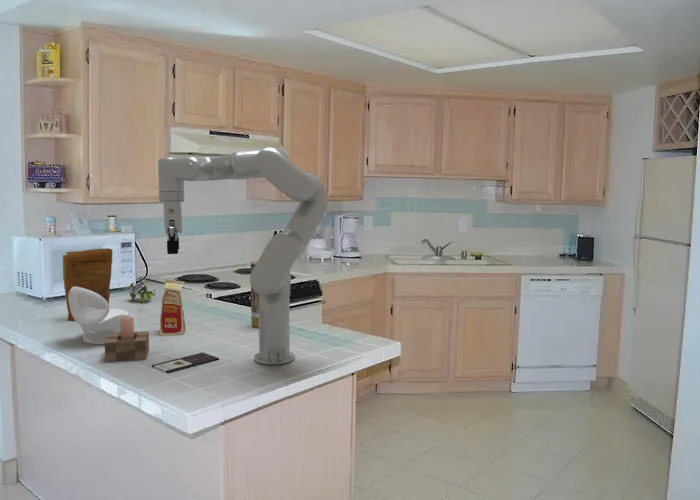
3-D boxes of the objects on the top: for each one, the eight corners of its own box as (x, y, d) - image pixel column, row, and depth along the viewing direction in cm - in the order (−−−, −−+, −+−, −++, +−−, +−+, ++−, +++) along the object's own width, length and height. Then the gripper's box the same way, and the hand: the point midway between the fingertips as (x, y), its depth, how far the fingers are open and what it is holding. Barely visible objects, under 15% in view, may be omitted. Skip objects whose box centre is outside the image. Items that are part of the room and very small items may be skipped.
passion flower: (133, 313, 278) (125, 290, 282) (157, 306, 283) (148, 283, 287) (134, 303, 269) (126, 279, 272) (159, 296, 274) (150, 273, 278)
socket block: (146, 359, 190) (145, 340, 190) (105, 361, 187) (104, 342, 187) (149, 348, 202) (148, 331, 201) (110, 351, 199) (109, 333, 198)
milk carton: (160, 335, 218) (158, 280, 216) (160, 329, 227) (159, 276, 225) (186, 334, 221) (184, 279, 218) (186, 328, 229) (184, 275, 227)
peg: (134, 356, 193) (132, 319, 192) (120, 357, 192) (119, 320, 191) (135, 352, 197) (134, 316, 196) (122, 353, 196) (120, 317, 195)
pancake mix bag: (117, 317, 246) (114, 248, 243) (66, 323, 236) (62, 251, 232) (113, 314, 252) (110, 246, 249) (63, 320, 241) (59, 249, 238)
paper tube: (265, 328, 229) (265, 262, 226) (248, 327, 231) (247, 262, 228) (271, 324, 236) (271, 260, 233) (255, 323, 237) (254, 259, 234)
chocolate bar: (219, 358, 190) (168, 371, 177) (219, 361, 190) (168, 374, 177) (202, 352, 196) (151, 365, 183) (202, 355, 196) (152, 368, 183)
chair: (143, 338, 215) (141, 282, 213) (92, 351, 199) (90, 290, 196) (109, 329, 226) (107, 276, 224) (58, 341, 210) (55, 284, 208)
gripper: (183, 198, 182) (185, 255, 184) (184, 196, 199) (186, 248, 201) (157, 198, 180) (159, 255, 182) (160, 196, 197) (162, 249, 199)
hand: (173, 251), depth 191 cm, fingers open, 9 cm apart
